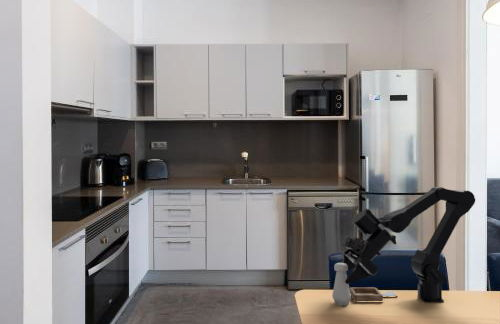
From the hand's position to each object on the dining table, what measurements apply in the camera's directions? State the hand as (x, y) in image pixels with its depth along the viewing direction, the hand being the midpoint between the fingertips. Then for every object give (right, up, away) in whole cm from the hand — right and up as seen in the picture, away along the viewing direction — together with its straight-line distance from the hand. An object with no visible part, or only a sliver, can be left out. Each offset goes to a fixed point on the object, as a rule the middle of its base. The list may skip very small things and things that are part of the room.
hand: (341, 279), depth 137 cm
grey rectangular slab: (+17, -8, +8) cm, 20 cm away
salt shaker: (0, -8, 0) cm, 8 cm away
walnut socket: (+9, -8, +5) cm, 13 cm away
